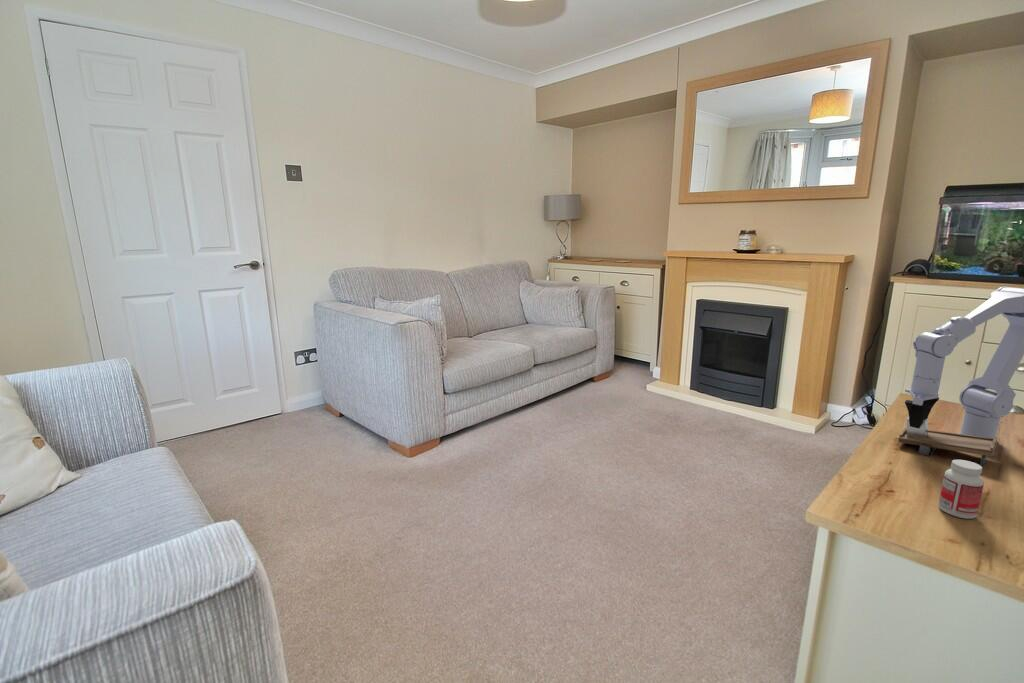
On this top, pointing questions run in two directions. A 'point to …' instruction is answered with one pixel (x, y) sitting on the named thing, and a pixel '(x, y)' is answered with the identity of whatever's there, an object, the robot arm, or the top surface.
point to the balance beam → (953, 442)
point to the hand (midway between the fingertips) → (917, 423)
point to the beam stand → (930, 450)
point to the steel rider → (918, 429)
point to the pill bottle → (962, 489)
